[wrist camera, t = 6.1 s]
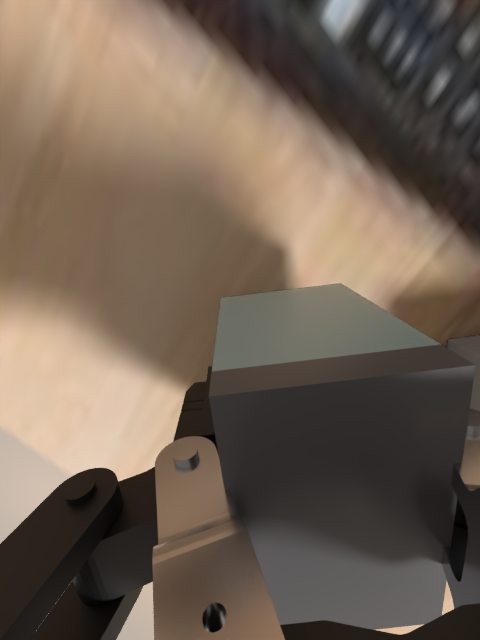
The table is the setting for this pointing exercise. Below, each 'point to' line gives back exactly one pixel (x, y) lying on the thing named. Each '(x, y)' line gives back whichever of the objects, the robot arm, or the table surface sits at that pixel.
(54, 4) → the table surface
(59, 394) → the table surface
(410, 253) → the table surface
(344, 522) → the block
